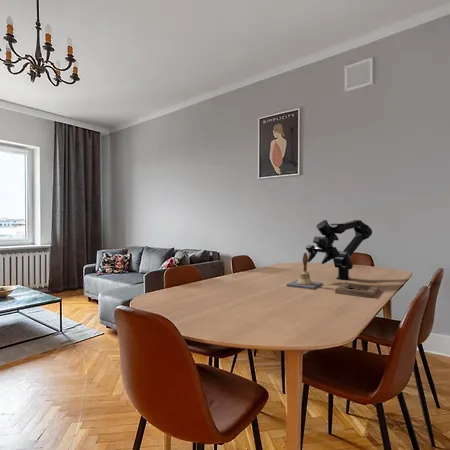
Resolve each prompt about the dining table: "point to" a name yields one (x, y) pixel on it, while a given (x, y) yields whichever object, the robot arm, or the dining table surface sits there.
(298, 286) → the grey rubber mat
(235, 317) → the dining table surface
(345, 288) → the walnut well board
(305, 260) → the hand bell
